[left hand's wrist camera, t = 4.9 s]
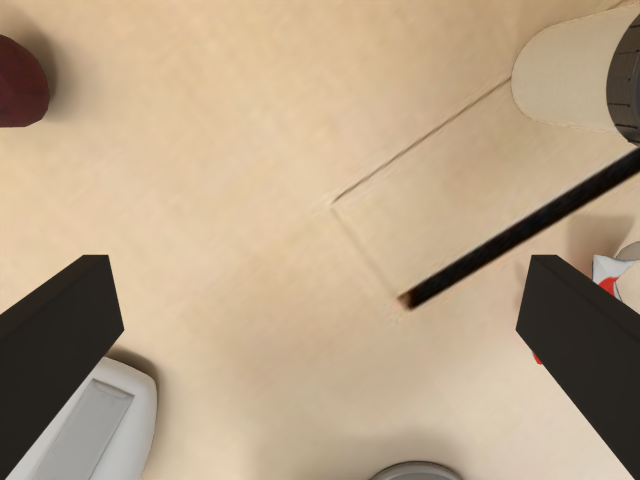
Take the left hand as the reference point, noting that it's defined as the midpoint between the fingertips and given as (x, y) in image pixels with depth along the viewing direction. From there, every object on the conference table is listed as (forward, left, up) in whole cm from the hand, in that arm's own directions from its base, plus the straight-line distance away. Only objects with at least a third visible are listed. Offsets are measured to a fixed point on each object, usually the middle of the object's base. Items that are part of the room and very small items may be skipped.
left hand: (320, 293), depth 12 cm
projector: (-34, +29, -28) cm, 53 cm away
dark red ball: (+6, +27, -28) cm, 39 cm away
